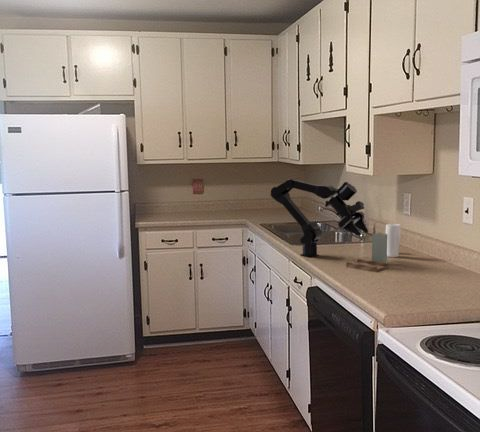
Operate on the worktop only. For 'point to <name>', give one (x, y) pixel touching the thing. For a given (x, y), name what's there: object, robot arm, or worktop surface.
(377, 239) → the block
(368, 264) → the walnut trough
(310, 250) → the robot arm
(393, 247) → the white cylinder
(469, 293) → the worktop surface
